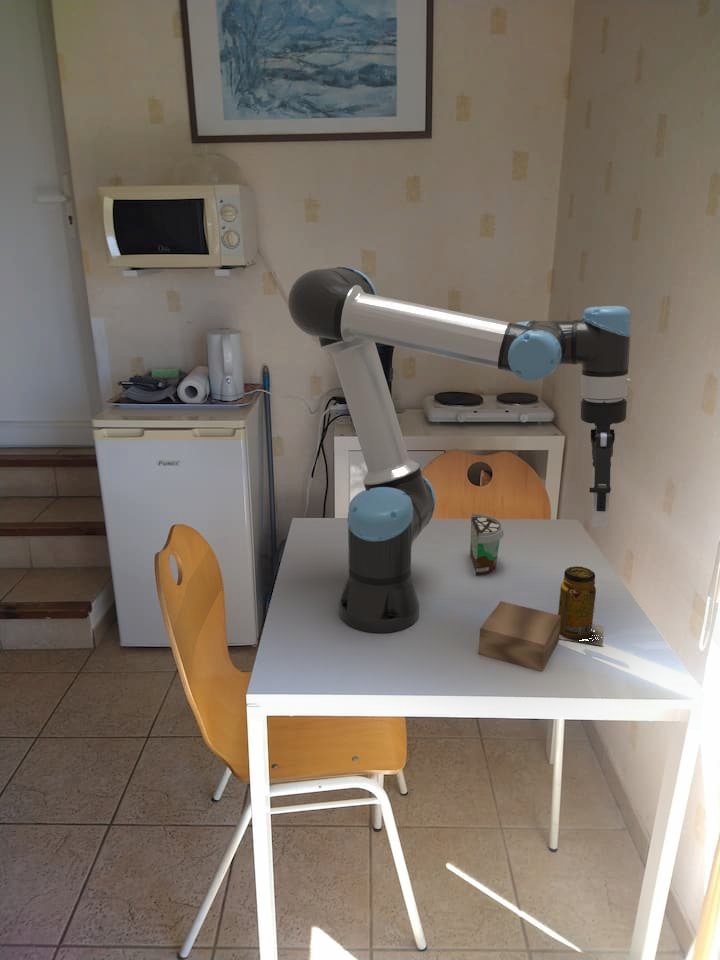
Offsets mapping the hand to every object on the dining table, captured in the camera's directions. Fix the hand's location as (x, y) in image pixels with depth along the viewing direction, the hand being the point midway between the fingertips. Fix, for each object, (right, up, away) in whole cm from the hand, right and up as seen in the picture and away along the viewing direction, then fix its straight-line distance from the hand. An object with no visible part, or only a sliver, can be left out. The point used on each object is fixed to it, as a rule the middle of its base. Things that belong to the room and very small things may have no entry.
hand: (599, 513), depth 130 cm
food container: (-16, -13, +27) cm, 33 cm away
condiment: (-4, -22, 0) cm, 22 cm away
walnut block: (-16, -23, -5) cm, 28 cm away
